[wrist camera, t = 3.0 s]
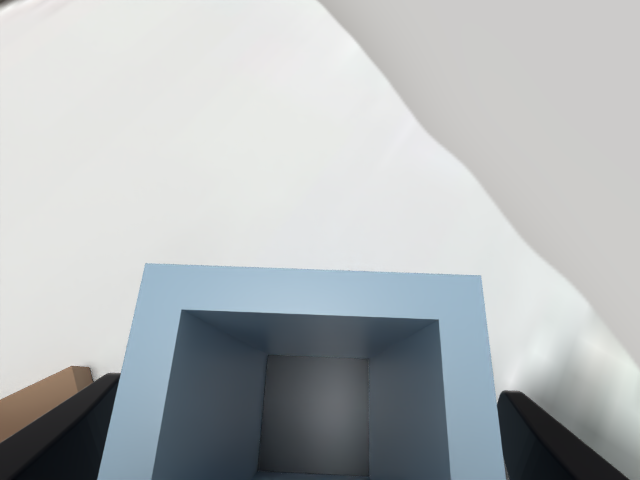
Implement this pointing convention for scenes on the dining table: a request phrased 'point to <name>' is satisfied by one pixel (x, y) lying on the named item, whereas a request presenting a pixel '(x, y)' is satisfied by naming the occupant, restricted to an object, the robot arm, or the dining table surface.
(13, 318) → the dining table surface
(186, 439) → the light blue square holder
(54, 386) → the locating plate
